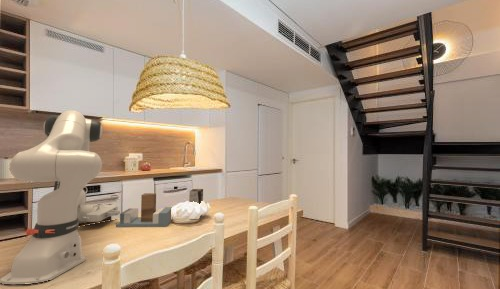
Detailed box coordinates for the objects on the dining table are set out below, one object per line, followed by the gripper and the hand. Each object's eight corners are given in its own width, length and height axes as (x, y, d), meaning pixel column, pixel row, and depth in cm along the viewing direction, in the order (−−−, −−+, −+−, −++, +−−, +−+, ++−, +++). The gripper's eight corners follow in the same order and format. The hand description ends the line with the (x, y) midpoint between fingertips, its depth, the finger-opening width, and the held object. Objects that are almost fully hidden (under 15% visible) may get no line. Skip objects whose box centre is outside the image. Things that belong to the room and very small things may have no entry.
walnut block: (152, 221, 130) (153, 195, 130) (140, 221, 130) (141, 195, 130) (155, 219, 135) (156, 193, 135) (144, 219, 135) (144, 193, 135)
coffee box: (199, 219, 140) (200, 191, 141) (188, 219, 141) (189, 191, 141) (203, 215, 150) (203, 188, 150) (192, 215, 150) (193, 188, 150)
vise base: (166, 226, 127) (166, 213, 127) (115, 227, 125) (116, 213, 125) (172, 219, 140) (172, 207, 140) (126, 219, 138) (127, 207, 138)
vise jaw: (129, 223, 126) (130, 213, 127) (119, 223, 126) (120, 213, 126) (138, 217, 137) (138, 208, 138) (128, 217, 137) (129, 208, 137)
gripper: (79, 212, 120) (109, 212, 121) (101, 203, 141) (126, 203, 142) (79, 225, 120) (108, 225, 121) (101, 214, 140) (126, 214, 141)
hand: (118, 213), depth 131 cm, fingers closed
